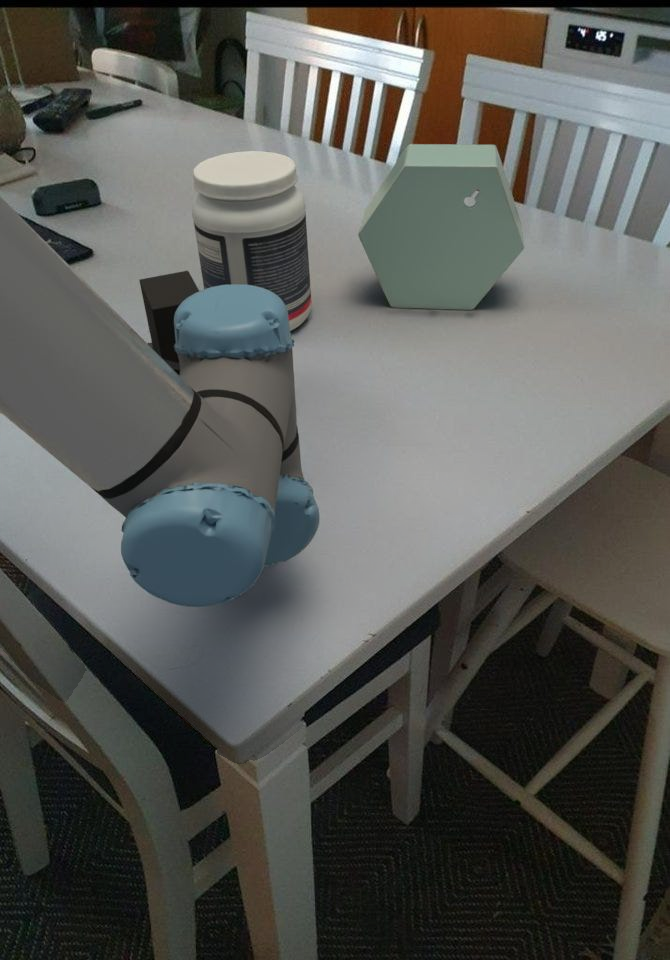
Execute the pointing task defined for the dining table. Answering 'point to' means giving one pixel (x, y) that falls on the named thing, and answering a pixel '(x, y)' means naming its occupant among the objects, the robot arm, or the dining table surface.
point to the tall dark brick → (165, 308)
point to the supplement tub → (253, 227)
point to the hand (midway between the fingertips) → (169, 311)
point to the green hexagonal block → (442, 227)
